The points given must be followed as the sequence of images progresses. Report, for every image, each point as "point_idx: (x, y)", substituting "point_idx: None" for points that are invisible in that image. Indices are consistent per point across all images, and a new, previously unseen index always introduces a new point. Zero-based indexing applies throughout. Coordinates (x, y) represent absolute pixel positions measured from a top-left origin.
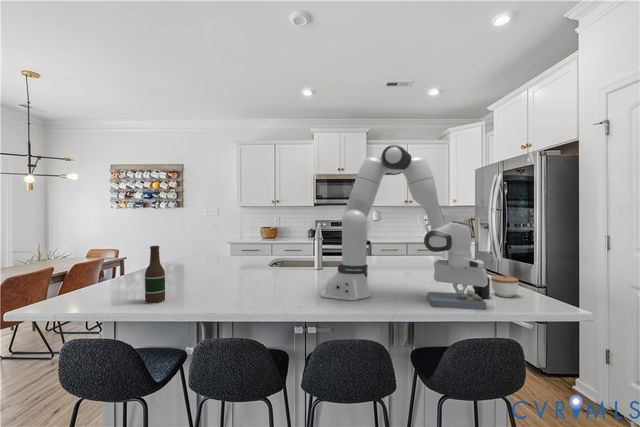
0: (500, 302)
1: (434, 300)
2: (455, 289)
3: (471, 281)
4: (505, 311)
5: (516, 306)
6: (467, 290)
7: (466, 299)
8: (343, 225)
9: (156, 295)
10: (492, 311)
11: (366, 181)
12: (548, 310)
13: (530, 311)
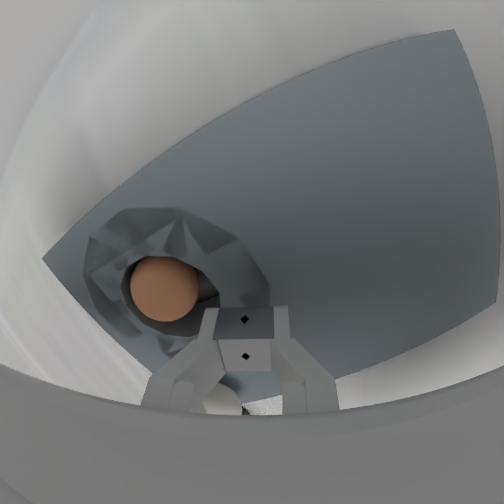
0: (115, 379)
1: (436, 34)
2: (293, 346)
3: (40, 429)
4: (19, 260)
5: (55, 351)
6: (225, 407)
7: (186, 286)
8: None
9: None
10: (36, 218)
11: None
12: (6, 342)
13: (4, 311)
